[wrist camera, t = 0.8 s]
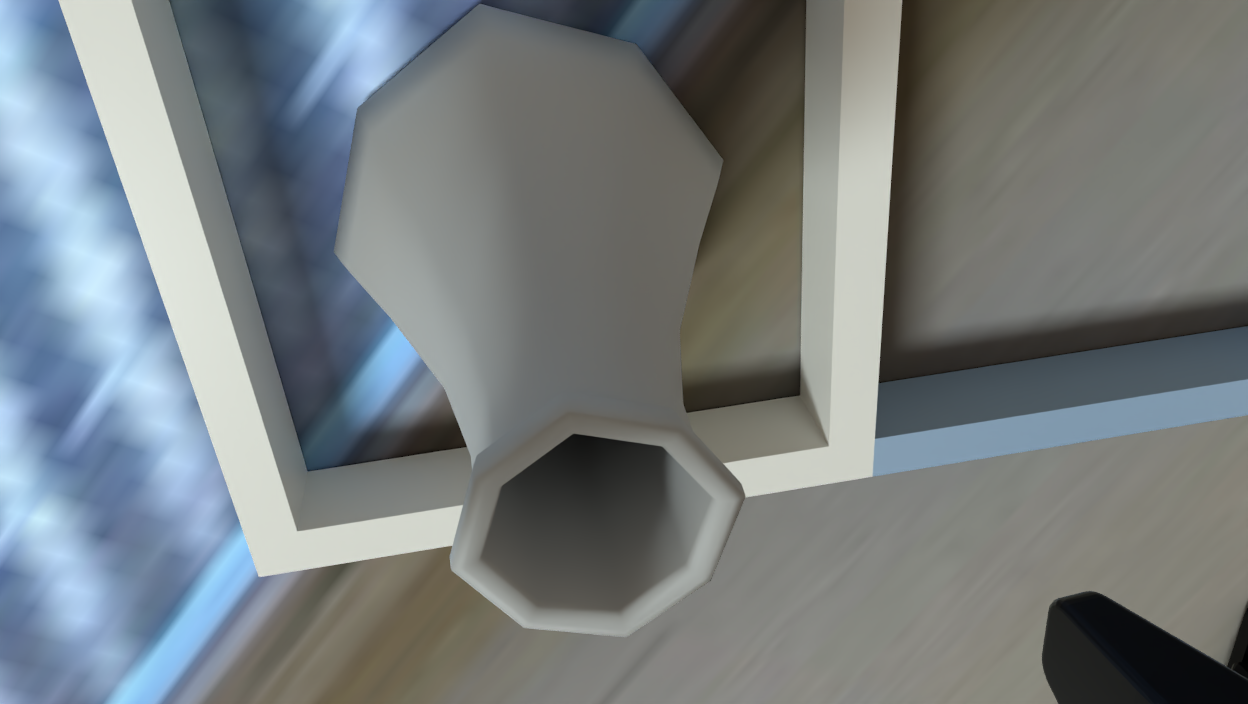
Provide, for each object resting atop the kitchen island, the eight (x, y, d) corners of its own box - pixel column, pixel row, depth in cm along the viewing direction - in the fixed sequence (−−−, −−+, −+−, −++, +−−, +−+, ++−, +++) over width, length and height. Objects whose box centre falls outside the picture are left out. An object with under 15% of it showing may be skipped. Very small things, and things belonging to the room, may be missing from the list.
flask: (458, -77, 17) (484, 90, 9) (782, 140, 20) (1038, 425, 12) (269, 261, 20) (145, 649, 11) (582, 411, 23) (671, 811, 14)
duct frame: (1511, -272, 18) (1621, -274, 17) (1314, 349, 25) (1378, 393, 23) (61, -134, 16) (16, -119, 14) (271, 514, 23) (259, 577, 21)
